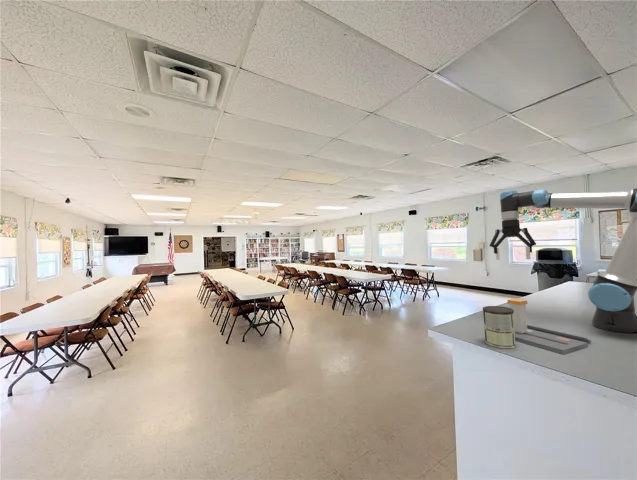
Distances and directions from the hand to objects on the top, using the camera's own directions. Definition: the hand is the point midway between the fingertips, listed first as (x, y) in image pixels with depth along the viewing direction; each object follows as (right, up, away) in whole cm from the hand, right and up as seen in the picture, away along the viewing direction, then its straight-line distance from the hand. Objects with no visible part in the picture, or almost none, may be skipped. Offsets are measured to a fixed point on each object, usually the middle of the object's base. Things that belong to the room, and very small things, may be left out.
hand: (513, 259), depth 137 cm
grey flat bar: (-2, -31, -26) cm, 40 cm away
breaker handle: (-16, -30, -25) cm, 42 cm away
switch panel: (-14, -31, -30) cm, 45 cm away
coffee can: (-30, -32, -33) cm, 55 cm away
